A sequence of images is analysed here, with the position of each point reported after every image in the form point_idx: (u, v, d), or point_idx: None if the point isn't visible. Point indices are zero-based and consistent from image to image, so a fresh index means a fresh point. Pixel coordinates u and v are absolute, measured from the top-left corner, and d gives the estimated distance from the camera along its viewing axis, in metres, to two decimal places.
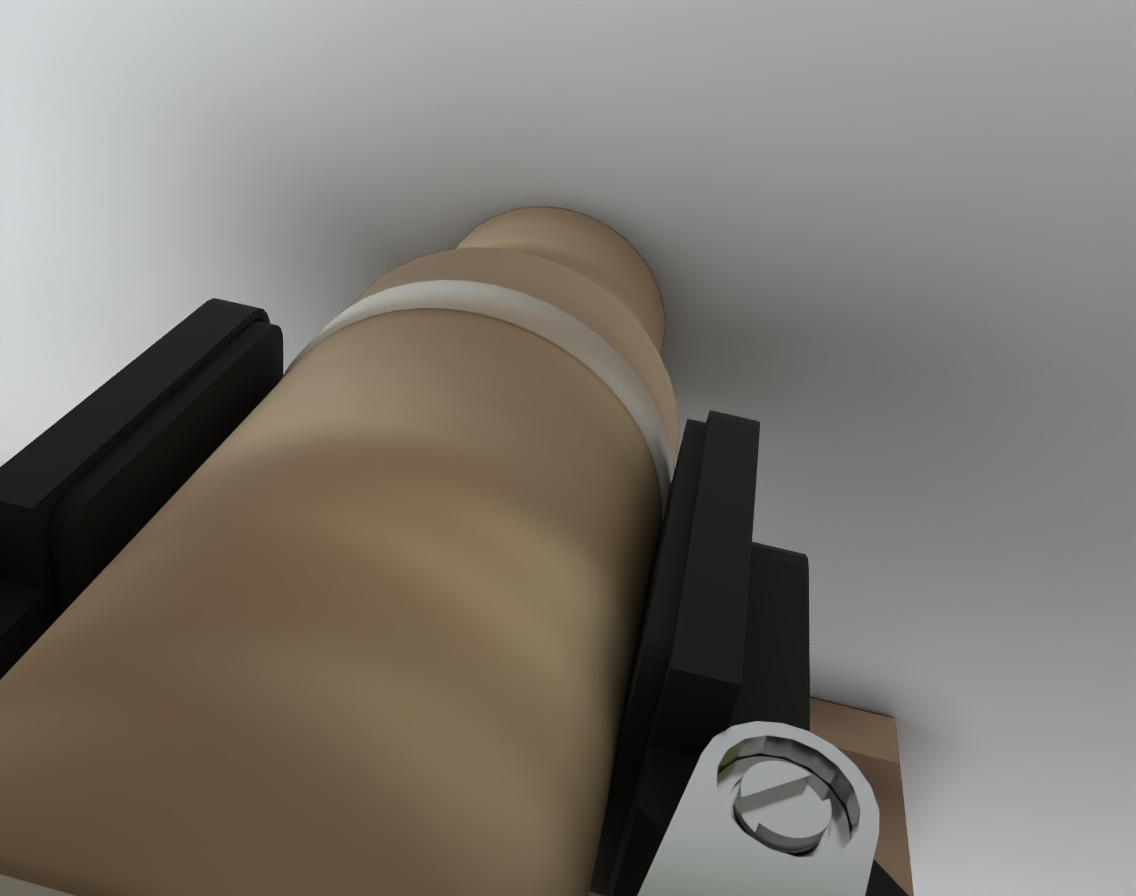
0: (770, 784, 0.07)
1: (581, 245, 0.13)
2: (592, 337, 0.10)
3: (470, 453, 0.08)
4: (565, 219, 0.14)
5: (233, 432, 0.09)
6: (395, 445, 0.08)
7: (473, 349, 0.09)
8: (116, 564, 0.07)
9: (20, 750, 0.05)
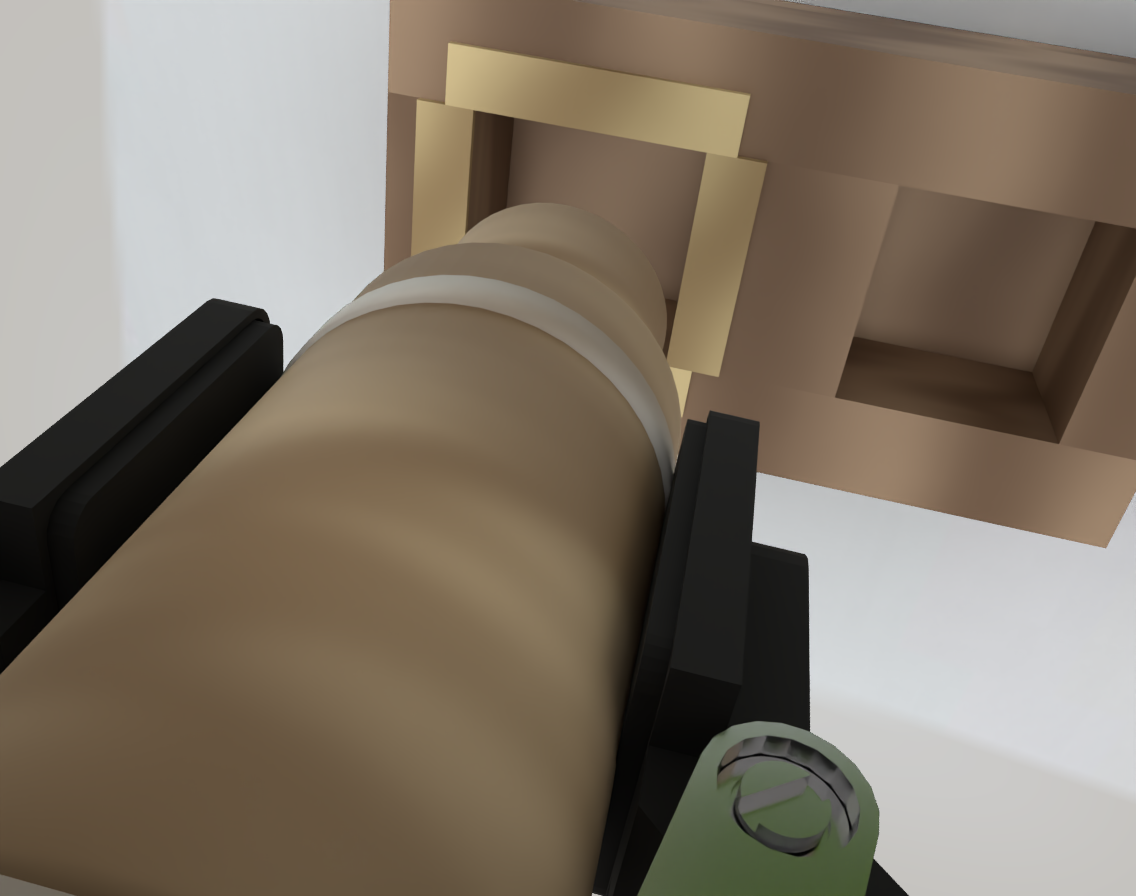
0: (770, 784, 0.07)
1: (583, 241, 0.13)
2: (594, 332, 0.10)
3: (472, 448, 0.08)
4: (568, 214, 0.14)
5: (234, 427, 0.09)
6: (397, 438, 0.08)
7: (475, 344, 0.09)
8: (117, 559, 0.07)
9: (20, 745, 0.05)
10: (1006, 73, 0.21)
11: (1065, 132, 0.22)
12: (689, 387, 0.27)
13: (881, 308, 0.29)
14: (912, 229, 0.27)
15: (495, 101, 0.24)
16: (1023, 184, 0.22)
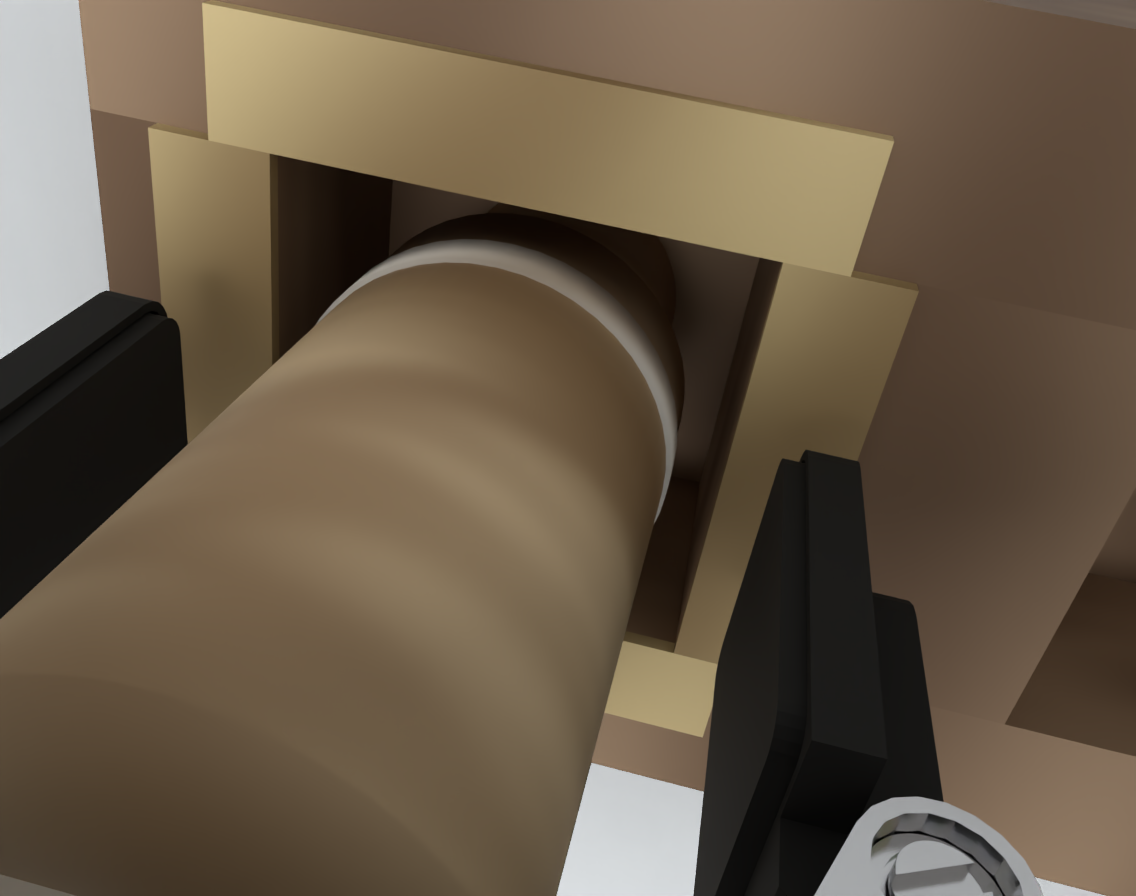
0: (928, 866, 0.06)
1: None
2: (602, 293, 0.11)
3: (485, 382, 0.09)
4: None
5: (268, 369, 0.10)
6: (416, 372, 0.08)
7: (490, 297, 0.10)
8: (163, 470, 0.08)
9: (84, 601, 0.06)
10: None
11: None
12: None
13: None
14: None
15: (315, 136, 0.11)
16: None
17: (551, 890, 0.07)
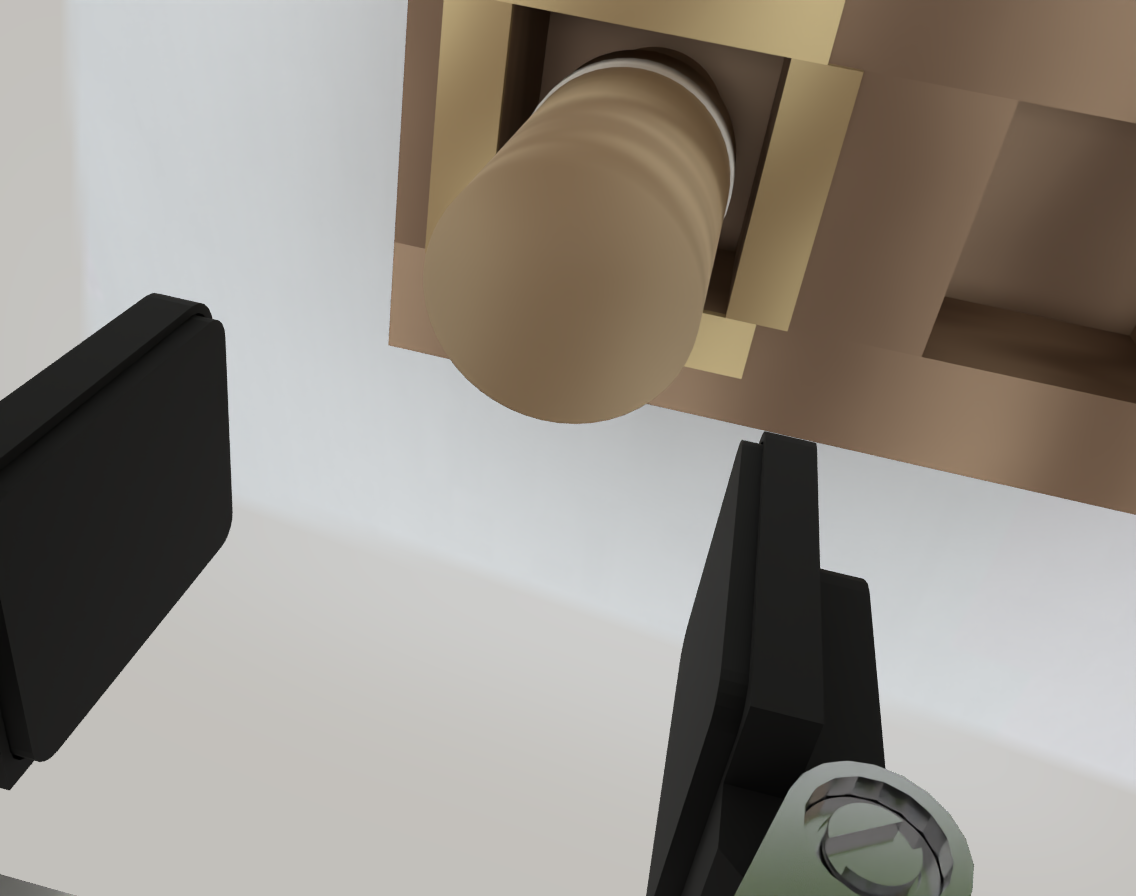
0: (859, 827, 0.07)
1: None
2: (695, 85, 0.20)
3: (653, 106, 0.18)
4: (667, 51, 0.24)
5: (531, 116, 0.19)
6: (622, 98, 0.18)
7: (643, 78, 0.19)
8: (514, 137, 0.17)
9: (528, 151, 0.15)
10: None
11: None
12: (751, 343, 0.23)
13: (962, 260, 0.25)
14: (1005, 168, 0.24)
15: None
16: None
17: (705, 288, 0.16)
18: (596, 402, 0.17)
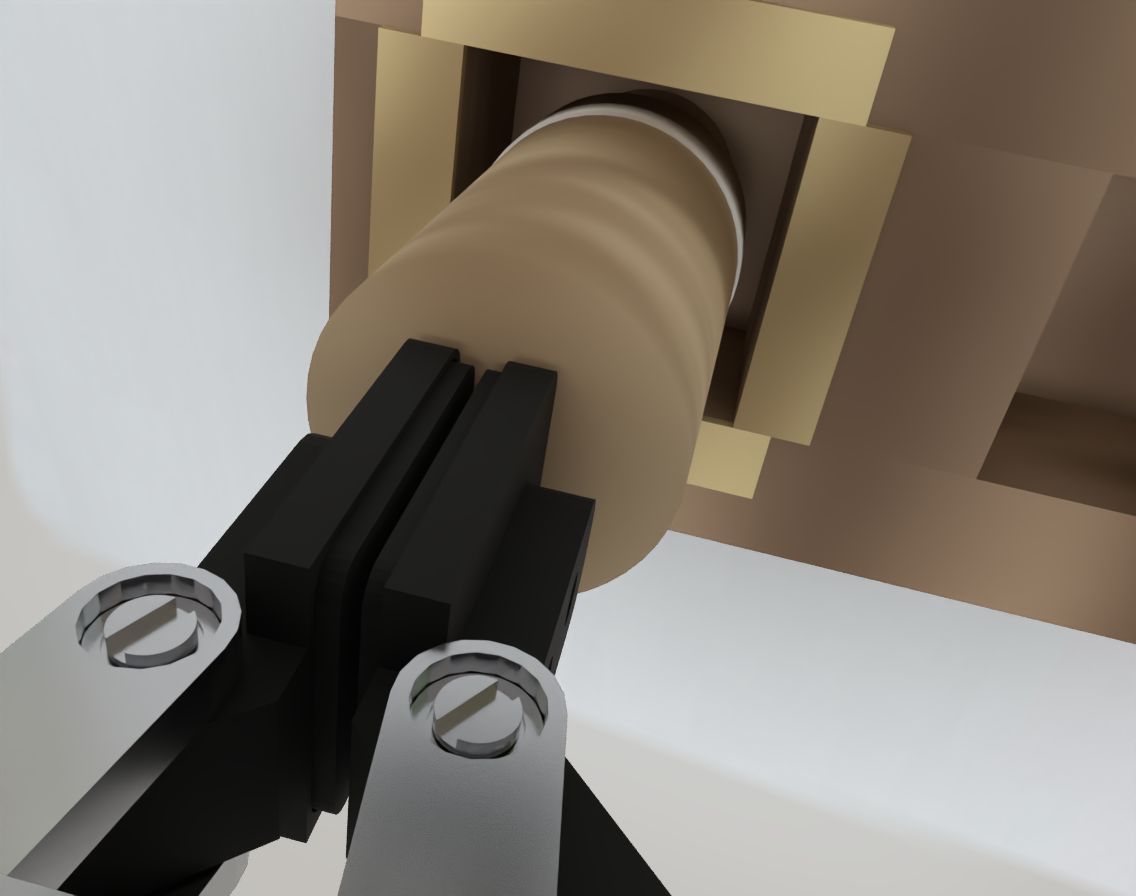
0: (463, 700, 0.07)
1: None
2: (692, 138, 0.16)
3: (631, 167, 0.14)
4: (662, 94, 0.19)
5: None
6: (590, 159, 0.13)
7: (623, 130, 0.15)
8: (443, 210, 0.13)
9: (446, 235, 0.11)
10: None
11: None
12: (764, 458, 0.19)
13: None
14: None
15: (497, 31, 0.16)
16: None
17: (697, 422, 0.12)
18: None
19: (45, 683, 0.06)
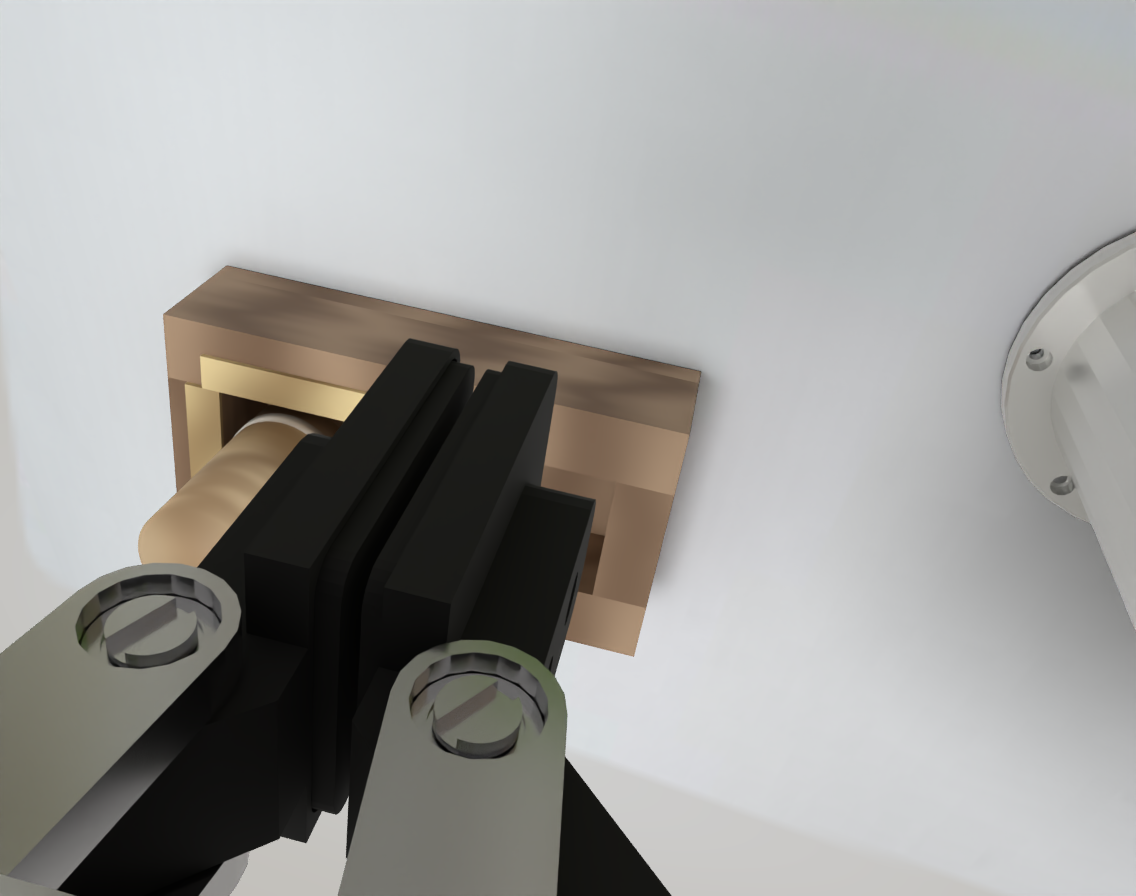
0: (462, 699, 0.07)
1: None
2: (311, 427, 0.39)
3: (265, 455, 0.37)
4: None
5: (216, 454, 0.38)
6: (248, 454, 0.36)
7: (274, 432, 0.38)
8: (191, 479, 0.36)
9: (178, 500, 0.34)
10: None
11: (555, 427, 0.37)
12: None
13: None
14: None
15: (231, 388, 0.39)
16: None
17: None
18: None
19: (45, 683, 0.06)
